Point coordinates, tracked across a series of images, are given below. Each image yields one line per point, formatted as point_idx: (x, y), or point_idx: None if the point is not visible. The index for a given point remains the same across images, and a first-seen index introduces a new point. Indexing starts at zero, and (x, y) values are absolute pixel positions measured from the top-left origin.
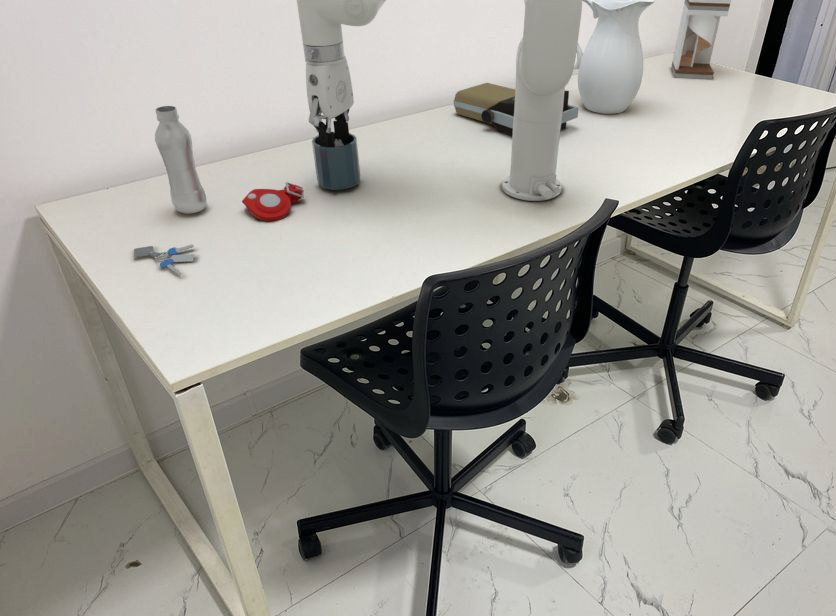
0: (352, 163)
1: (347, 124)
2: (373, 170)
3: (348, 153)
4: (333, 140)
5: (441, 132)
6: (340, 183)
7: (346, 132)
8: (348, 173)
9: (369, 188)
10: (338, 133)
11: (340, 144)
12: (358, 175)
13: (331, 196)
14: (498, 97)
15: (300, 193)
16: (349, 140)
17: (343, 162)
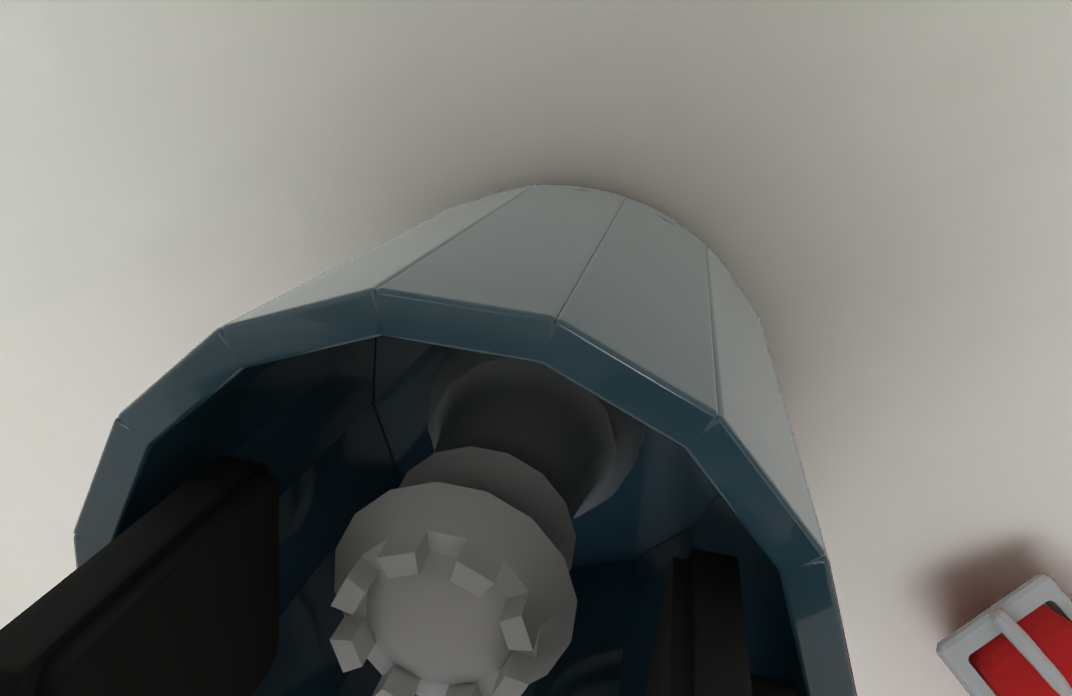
0: (611, 246)
1: (22, 640)
2: (163, 194)
3: (653, 316)
4: (730, 683)
5: None
6: (757, 321)
7: (185, 562)
8: (694, 263)
9: (544, 72)
10: (215, 684)
11: (464, 537)
12: (536, 192)
13: (813, 367)
14: None
15: (1069, 626)
16: (227, 458)
17: (732, 348)
